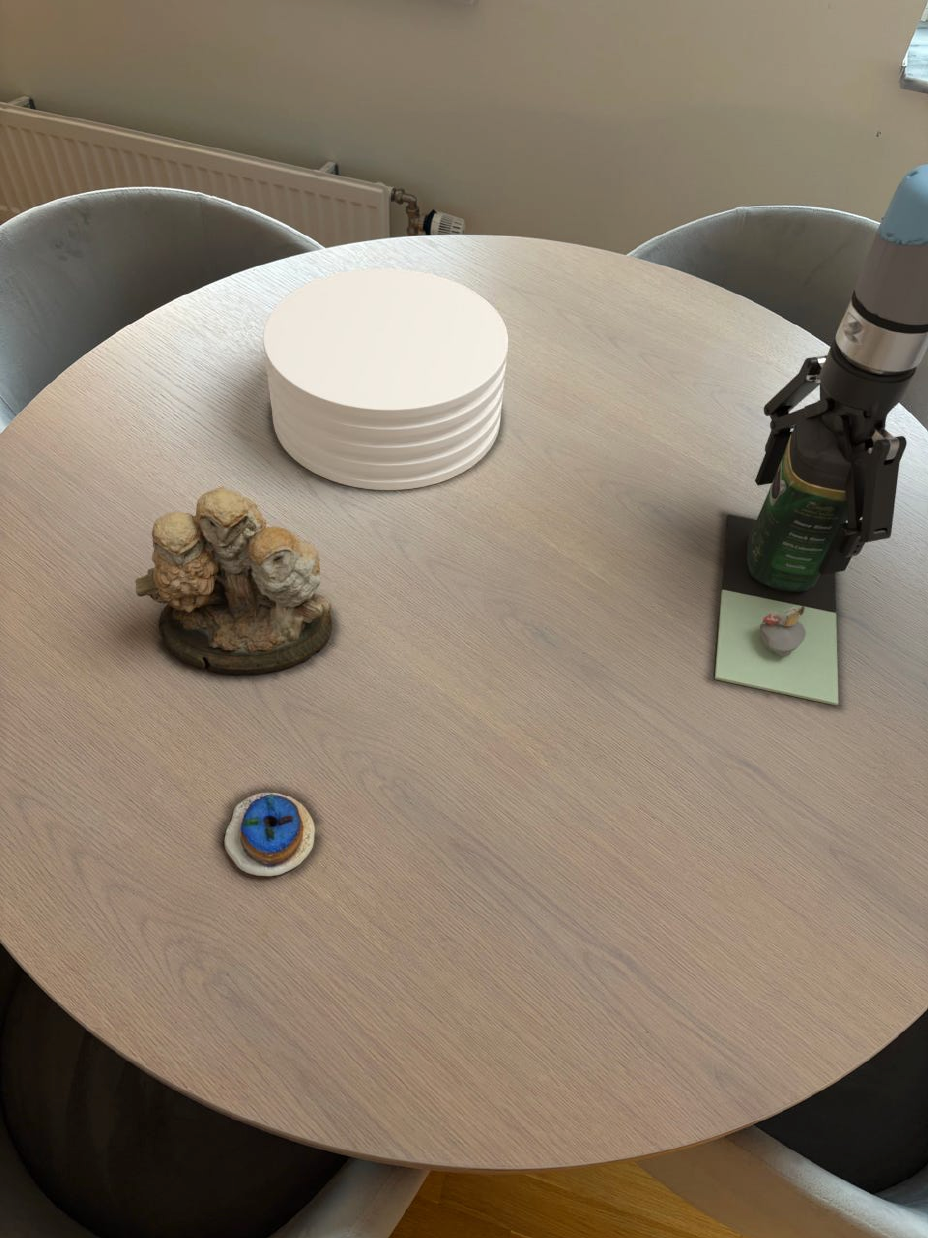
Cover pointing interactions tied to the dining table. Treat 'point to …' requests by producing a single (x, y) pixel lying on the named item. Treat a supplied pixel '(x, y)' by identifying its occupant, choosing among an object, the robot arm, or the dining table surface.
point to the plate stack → (385, 377)
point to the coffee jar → (801, 509)
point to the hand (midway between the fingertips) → (797, 524)
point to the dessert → (269, 834)
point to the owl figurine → (235, 588)
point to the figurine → (783, 631)
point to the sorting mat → (751, 601)
